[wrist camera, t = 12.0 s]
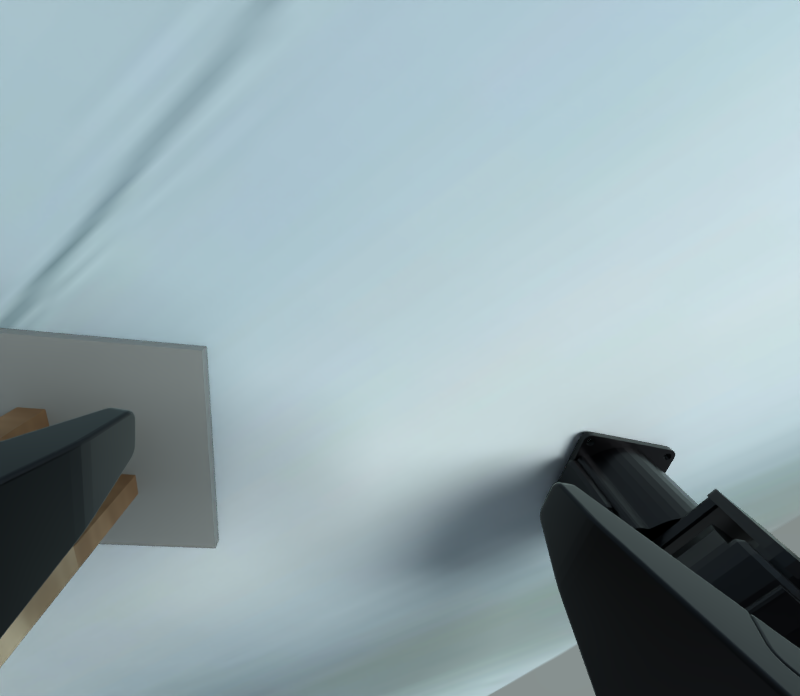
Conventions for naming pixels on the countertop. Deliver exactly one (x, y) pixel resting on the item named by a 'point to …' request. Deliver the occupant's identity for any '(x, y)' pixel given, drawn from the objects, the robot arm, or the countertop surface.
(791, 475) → the countertop surface
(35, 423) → the wooden footstool
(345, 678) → the countertop surface
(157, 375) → the mat
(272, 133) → the countertop surface
